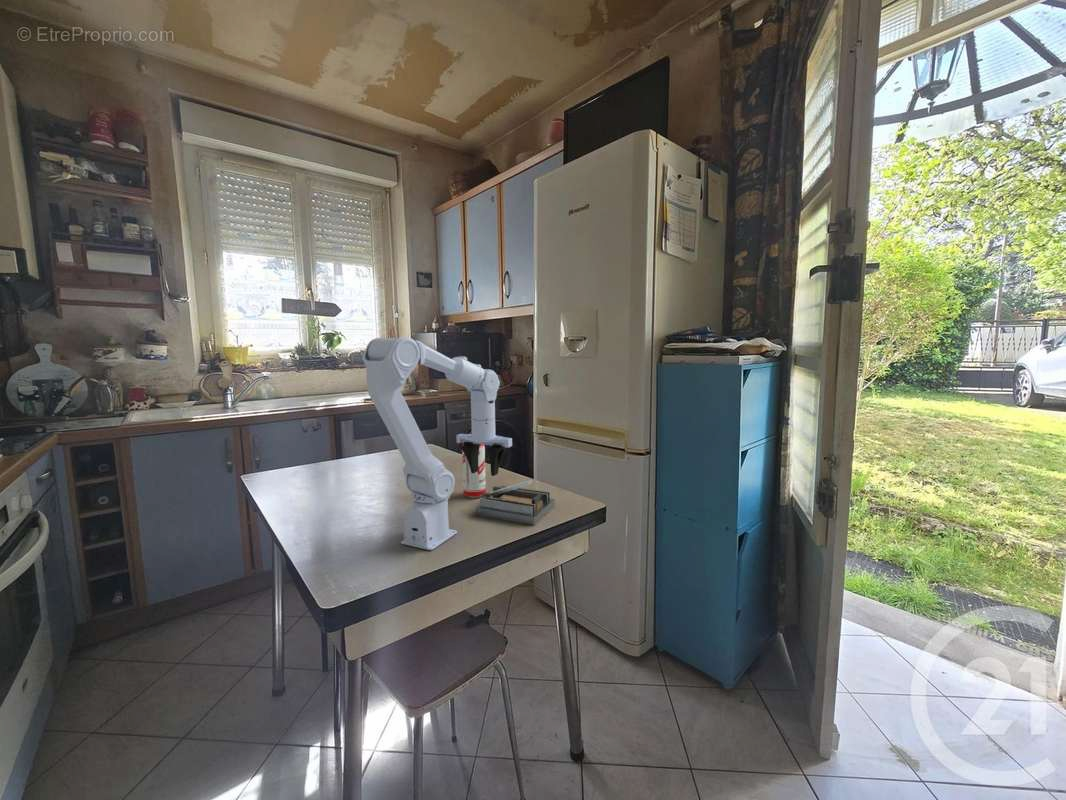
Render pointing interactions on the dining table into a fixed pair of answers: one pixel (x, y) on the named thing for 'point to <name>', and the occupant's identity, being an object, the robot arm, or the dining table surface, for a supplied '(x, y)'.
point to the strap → (511, 487)
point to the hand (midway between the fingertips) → (484, 473)
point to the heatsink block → (516, 505)
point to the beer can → (474, 476)
